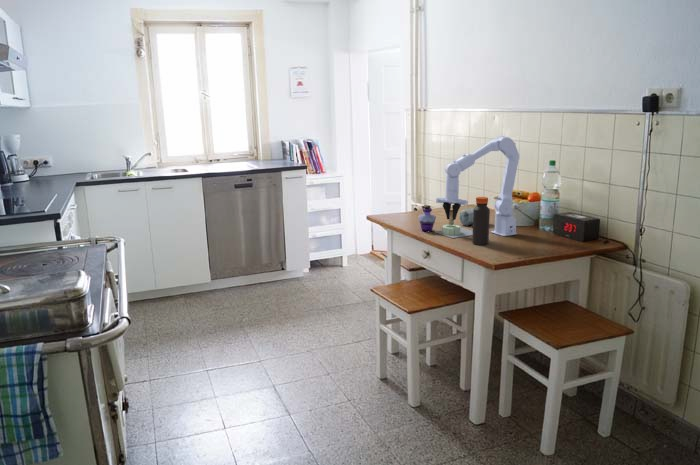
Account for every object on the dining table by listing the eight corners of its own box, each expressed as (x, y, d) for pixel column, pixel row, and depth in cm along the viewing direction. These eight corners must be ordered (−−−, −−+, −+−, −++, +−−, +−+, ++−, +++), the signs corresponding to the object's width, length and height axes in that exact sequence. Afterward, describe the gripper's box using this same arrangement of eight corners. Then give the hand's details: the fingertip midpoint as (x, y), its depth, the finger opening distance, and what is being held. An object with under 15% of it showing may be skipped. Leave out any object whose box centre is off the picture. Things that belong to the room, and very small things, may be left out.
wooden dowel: (454, 224, 264) (455, 210, 263) (451, 225, 263) (451, 210, 262) (451, 223, 266) (451, 209, 265) (447, 224, 265) (448, 210, 263)
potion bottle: (430, 227, 278) (431, 203, 275) (439, 231, 270) (439, 206, 267) (414, 229, 275) (414, 204, 272) (422, 233, 267) (423, 207, 264)
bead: (463, 233, 264) (463, 227, 263) (449, 235, 260) (449, 229, 259) (452, 230, 271) (453, 223, 270) (438, 232, 267) (438, 225, 267)
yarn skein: (465, 221, 276) (465, 202, 278) (455, 226, 284) (456, 207, 287) (489, 226, 279) (490, 207, 282) (479, 231, 288) (480, 212, 291)
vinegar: (469, 242, 249) (470, 197, 245) (482, 240, 252) (484, 195, 247) (477, 246, 243) (479, 199, 238) (491, 244, 245) (493, 198, 241)
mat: (481, 234, 263) (481, 233, 263) (452, 238, 256) (452, 237, 256) (462, 228, 276) (462, 227, 275) (434, 232, 269) (434, 231, 269)
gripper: (470, 189, 261) (469, 219, 264) (440, 187, 268) (439, 216, 271) (465, 192, 255) (464, 222, 258) (434, 189, 262) (434, 218, 265)
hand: (451, 219), depth 264 cm, fingers closed on wooden dowel, 2 cm apart
